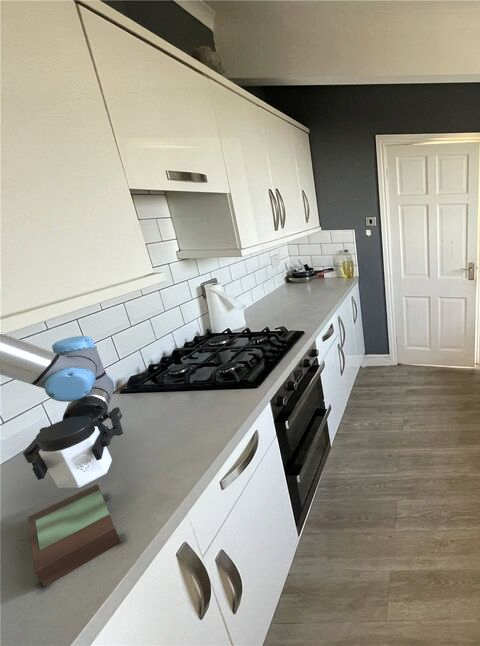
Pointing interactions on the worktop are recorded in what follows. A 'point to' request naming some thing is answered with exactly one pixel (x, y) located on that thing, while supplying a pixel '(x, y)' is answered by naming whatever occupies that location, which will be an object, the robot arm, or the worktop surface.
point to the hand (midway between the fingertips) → (68, 463)
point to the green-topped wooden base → (71, 534)
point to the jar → (72, 452)
